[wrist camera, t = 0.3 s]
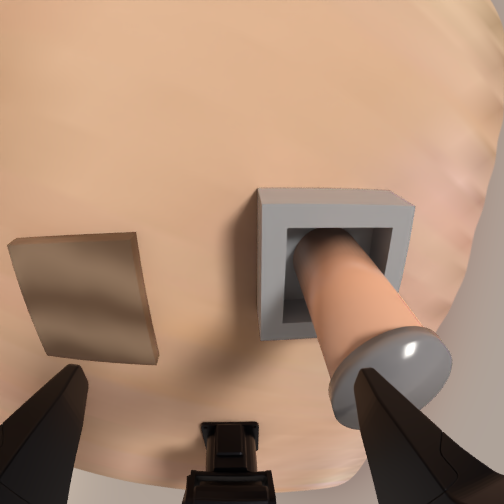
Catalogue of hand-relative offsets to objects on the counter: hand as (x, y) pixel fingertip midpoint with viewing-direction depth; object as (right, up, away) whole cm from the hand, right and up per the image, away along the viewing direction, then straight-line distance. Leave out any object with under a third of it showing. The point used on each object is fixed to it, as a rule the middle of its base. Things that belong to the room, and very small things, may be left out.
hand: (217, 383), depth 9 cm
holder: (+6, +4, +15) cm, 17 cm away
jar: (+6, +4, +14) cm, 16 cm away
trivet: (-14, 0, +16) cm, 21 cm away
